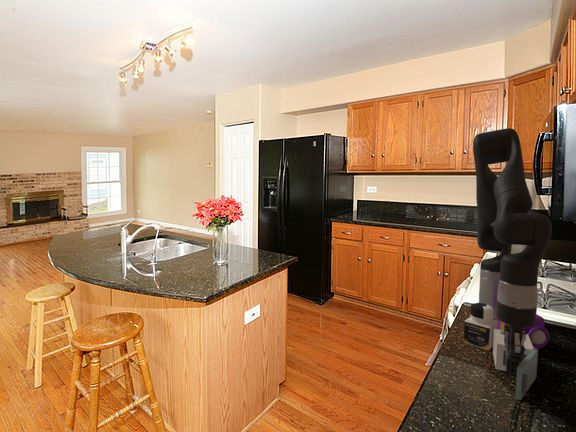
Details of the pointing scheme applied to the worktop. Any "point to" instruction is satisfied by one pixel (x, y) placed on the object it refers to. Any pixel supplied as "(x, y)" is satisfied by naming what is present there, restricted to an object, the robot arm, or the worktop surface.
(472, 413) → the worktop surface
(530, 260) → the robot arm
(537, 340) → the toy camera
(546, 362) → the worktop surface
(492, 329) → the medicine bottle
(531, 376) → the case door
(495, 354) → the camera case
